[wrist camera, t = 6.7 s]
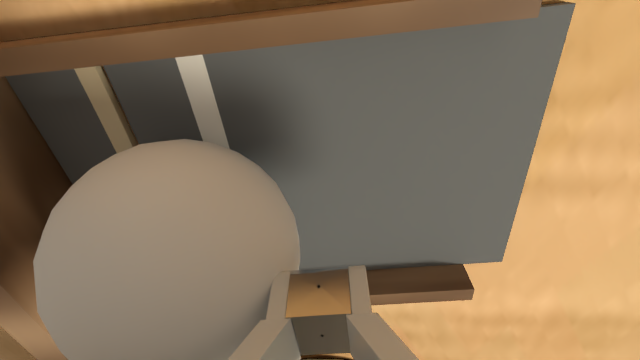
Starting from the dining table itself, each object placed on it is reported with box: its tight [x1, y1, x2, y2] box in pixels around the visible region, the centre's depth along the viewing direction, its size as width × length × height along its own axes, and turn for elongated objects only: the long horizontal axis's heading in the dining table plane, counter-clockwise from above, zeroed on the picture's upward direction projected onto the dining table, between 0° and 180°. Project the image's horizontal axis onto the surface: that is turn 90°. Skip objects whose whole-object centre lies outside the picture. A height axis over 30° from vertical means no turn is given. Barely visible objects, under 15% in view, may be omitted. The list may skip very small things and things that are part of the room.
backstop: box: [0, 0, 542, 360], centre depth 13 cm, size 16×20×5 cm
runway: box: [5, 2, 576, 270], centre depth 15 cm, size 12×20×1 cm, turn 96°
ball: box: [33, 139, 300, 360], centre depth 11 cm, size 8×8×8 cm
